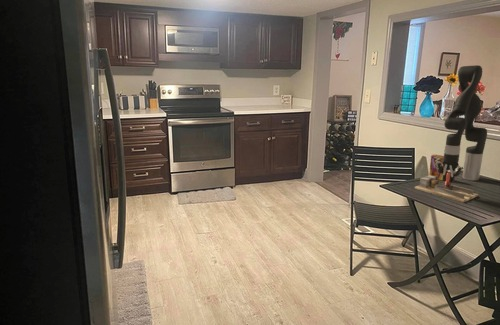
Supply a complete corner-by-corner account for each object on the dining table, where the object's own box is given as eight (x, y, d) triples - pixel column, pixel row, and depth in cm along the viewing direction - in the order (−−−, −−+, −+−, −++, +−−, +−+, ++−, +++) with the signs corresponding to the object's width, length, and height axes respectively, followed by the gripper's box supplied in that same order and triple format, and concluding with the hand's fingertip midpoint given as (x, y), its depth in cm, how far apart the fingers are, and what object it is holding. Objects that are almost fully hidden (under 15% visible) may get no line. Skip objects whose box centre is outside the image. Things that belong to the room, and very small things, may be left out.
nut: (432, 185, 212) (433, 179, 211) (439, 187, 209) (440, 181, 208) (429, 187, 210) (429, 180, 209) (435, 188, 206) (436, 182, 205)
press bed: (429, 183, 220) (431, 173, 218) (477, 196, 197) (479, 185, 195) (414, 188, 211) (415, 178, 210) (463, 202, 189) (464, 191, 187)
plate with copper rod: (442, 186, 209) (444, 169, 206) (453, 189, 204) (455, 171, 201) (434, 189, 205) (437, 171, 202) (445, 192, 200) (448, 174, 197)
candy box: (445, 179, 227) (448, 156, 223) (442, 180, 224) (445, 157, 220) (431, 176, 233) (434, 153, 229) (428, 177, 231) (431, 155, 227)
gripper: (468, 154, 193) (464, 183, 198) (443, 149, 205) (439, 177, 209) (461, 156, 189) (457, 186, 194) (435, 151, 201) (432, 180, 205)
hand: (448, 181), depth 202 cm, fingers closed on plate with copper rod, 3 cm apart
